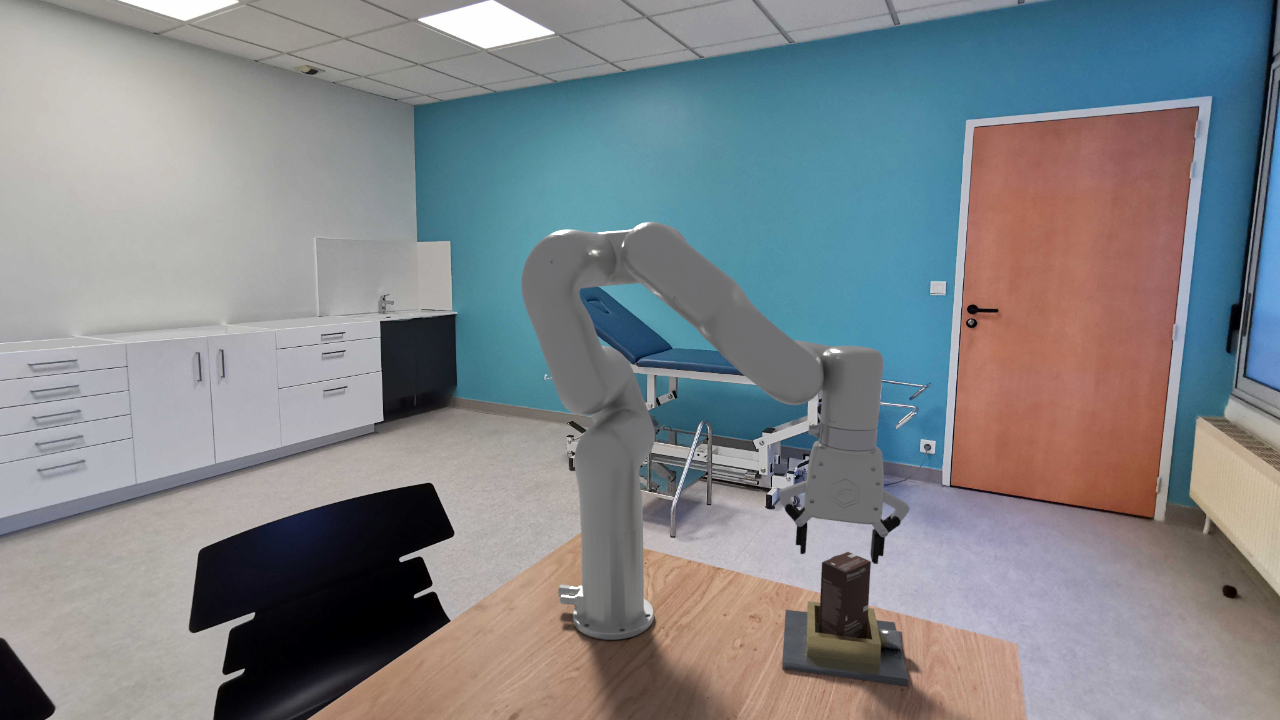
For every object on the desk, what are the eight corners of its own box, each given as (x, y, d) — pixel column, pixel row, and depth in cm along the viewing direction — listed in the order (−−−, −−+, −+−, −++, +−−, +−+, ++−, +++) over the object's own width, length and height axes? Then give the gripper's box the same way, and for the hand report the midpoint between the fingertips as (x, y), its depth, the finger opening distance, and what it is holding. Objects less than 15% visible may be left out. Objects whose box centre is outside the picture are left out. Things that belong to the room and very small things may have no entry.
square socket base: (782, 668, 89) (782, 641, 88) (785, 615, 102) (786, 591, 102) (907, 686, 85) (909, 657, 84) (894, 628, 98) (895, 603, 98)
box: (844, 655, 90) (845, 571, 88) (817, 641, 93) (818, 560, 92) (870, 640, 93) (872, 560, 92) (844, 627, 97) (845, 549, 95)
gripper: (781, 437, 88) (774, 557, 90) (919, 450, 83) (907, 576, 86) (783, 424, 95) (776, 536, 97) (911, 435, 91) (899, 552, 93)
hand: (837, 554), depth 92 cm, fingers open, 9 cm apart
